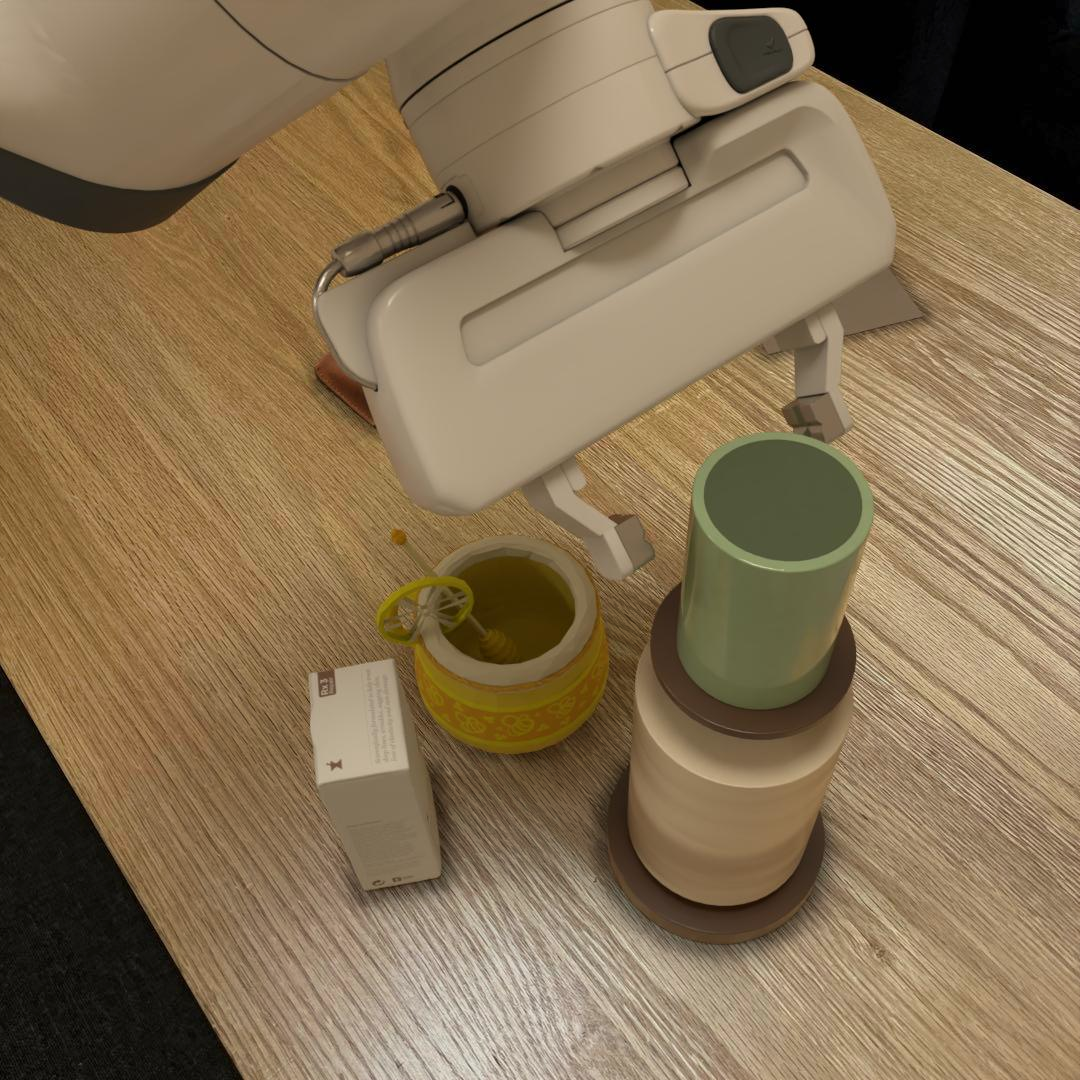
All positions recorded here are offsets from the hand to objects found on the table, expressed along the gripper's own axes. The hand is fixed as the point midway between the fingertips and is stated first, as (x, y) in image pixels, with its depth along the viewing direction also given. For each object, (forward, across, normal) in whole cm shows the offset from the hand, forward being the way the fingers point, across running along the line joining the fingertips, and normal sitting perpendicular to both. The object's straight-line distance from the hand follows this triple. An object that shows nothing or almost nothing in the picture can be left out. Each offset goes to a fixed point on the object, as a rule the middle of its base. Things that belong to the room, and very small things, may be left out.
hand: (733, 502), depth 42 cm
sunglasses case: (-8, +10, +45) cm, 47 cm away
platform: (-2, +36, +38) cm, 52 cm away
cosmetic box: (+12, -13, +24) cm, 30 cm away
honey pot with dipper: (+9, -3, +27) cm, 29 cm away
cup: (+6, 0, +3) cm, 7 cm away
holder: (+20, 0, +17) cm, 26 cm away
